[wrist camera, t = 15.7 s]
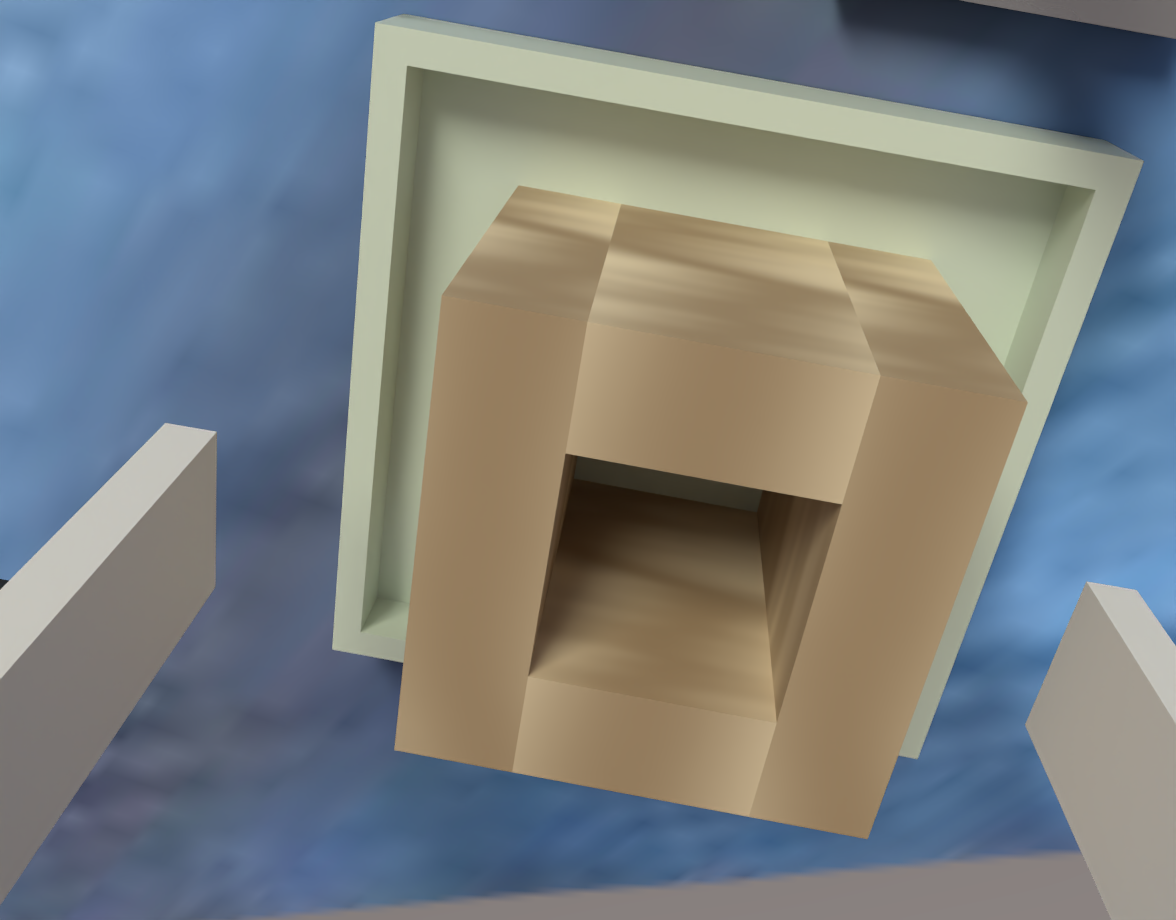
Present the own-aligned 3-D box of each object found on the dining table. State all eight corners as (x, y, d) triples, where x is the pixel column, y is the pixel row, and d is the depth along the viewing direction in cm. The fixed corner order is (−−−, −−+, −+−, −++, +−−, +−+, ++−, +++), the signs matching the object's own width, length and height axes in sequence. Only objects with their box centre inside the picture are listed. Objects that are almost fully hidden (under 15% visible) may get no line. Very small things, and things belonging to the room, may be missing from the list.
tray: (357, 600, 26) (332, 649, 25) (403, 14, 21) (375, 22, 19) (902, 702, 26) (917, 759, 25) (1105, 140, 20) (1143, 160, 19)
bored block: (472, 540, 25) (394, 750, 19) (518, 185, 21) (441, 294, 15) (825, 606, 25) (867, 839, 18) (931, 259, 21) (1028, 402, 15)
